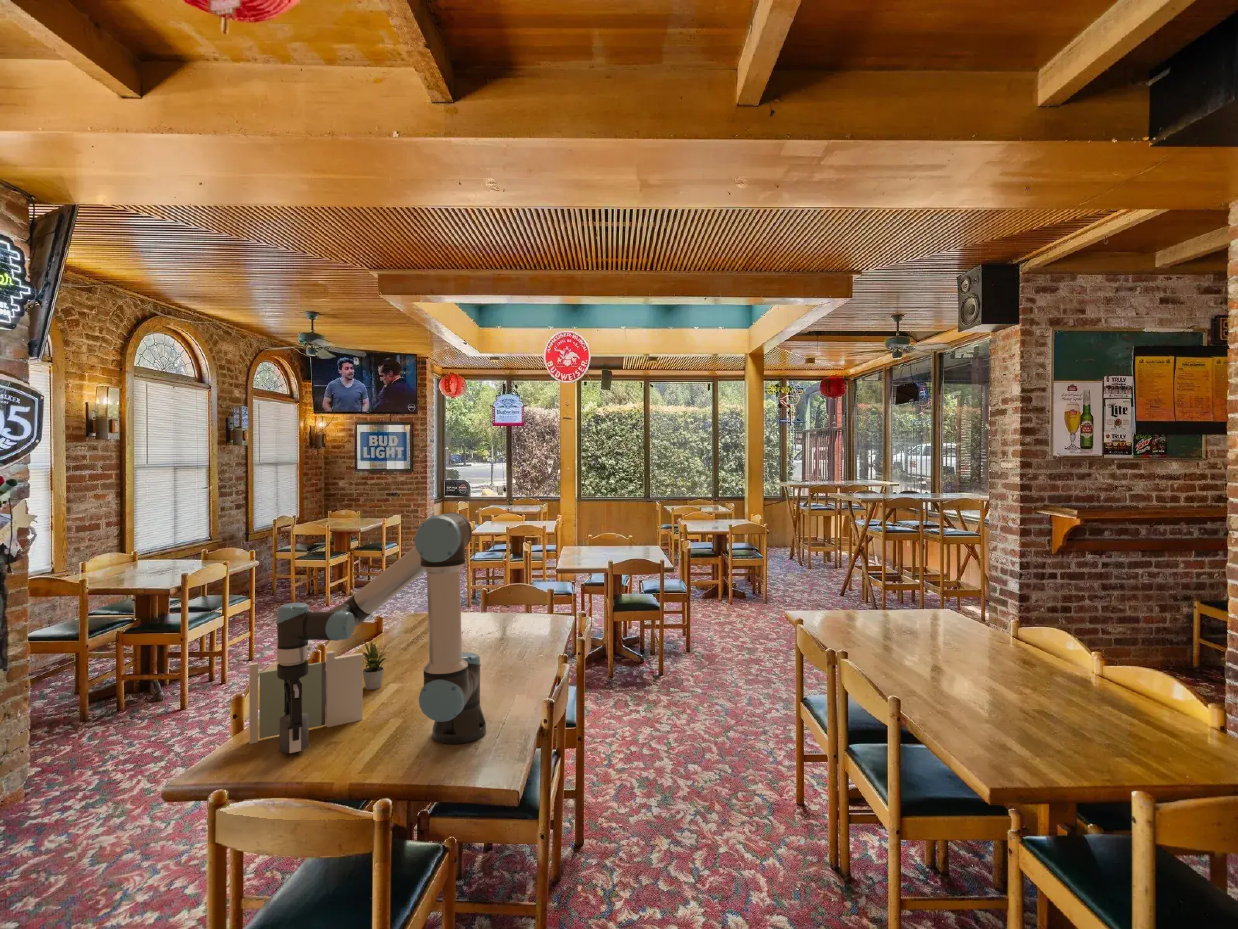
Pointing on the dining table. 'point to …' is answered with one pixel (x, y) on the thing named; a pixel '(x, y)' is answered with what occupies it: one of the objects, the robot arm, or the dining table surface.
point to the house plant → (373, 667)
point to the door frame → (340, 691)
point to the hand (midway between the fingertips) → (293, 746)
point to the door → (274, 699)
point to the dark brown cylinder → (285, 733)
